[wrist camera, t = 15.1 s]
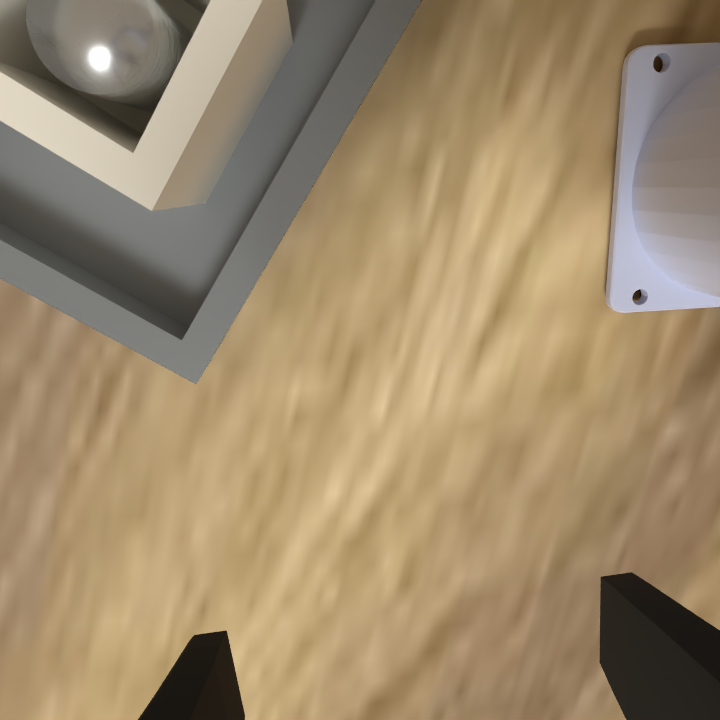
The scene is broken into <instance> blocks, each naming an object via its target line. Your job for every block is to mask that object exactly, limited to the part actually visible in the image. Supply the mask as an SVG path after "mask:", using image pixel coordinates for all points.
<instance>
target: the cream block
mask: <svg viewBox="0 0 720 720" xmlns="http://www.w3.org/2000/svg"><path fill="white" fill-rule="evenodd" d="M157 1H158V2H159V3H160V4H161V5H163V6H164V7H165V8H166V9H167V10H168V11H169V12H170V13H171V14H172V15H173V16H175V17H176V18H177V19H178V20H179V21H180V22H181V23H182V24H183V25H184V26H185V27H187V28H188V29H189V30H190V31H191V32H192V33H193V36H192V38H191V40H190V42H189V44H188V46H187V48H186V50H185V52H184V54H183V56H182V58H181V60H180V62H179V64H178V66H177V68H176V70H175V72H174V74H173V76H172V78H171V80H170V82H169V84H168V86H167V88H166V90H165V91H164V93H163V95H162V97H161V99H160V101H159V103H158V105H157V107H156V109H155V111H154V113H153V114H152V113H149V112H146V111H142V110H139V109H136V108H133V107H130V106H127V105H123V104H120V103H117V102H114V101H111V100H108V99H104V98H101V97H98V96H95V95H92V94H89V93H85V92H82V91H79V90H77V89H74V88H72V87H70V86H68V85H66V84H65V83H63V82H62V81H60V80H59V79H58V78H56V77H55V76H54V75H53V74H52V73H51V72H50V71H49V70H48V69H47V68H46V67H45V65H44V64H43V63H42V61H41V60H40V58H39V57H38V55H37V53H36V51H35V50H34V47H33V45H32V42H31V40H30V36H29V33H28V28H27V22H26V5H27V0H0V121H2V122H3V123H5V124H7V125H8V126H10V127H12V128H13V129H15V130H17V131H18V132H20V133H22V134H23V135H25V136H27V137H28V138H30V139H32V140H33V141H35V142H37V143H39V144H40V145H42V146H44V147H45V148H47V149H49V150H50V151H52V152H54V153H55V154H57V155H59V156H60V157H62V158H64V159H65V160H67V161H69V162H70V163H72V164H74V165H75V166H77V167H79V168H80V169H82V170H84V171H85V172H87V173H89V174H91V175H92V176H94V177H96V178H97V179H99V180H101V181H102V182H104V183H106V184H107V185H109V186H111V187H112V188H114V189H116V190H117V191H119V192H121V193H122V194H124V195H126V196H127V197H129V198H131V199H132V200H134V201H136V202H138V203H139V204H141V205H143V206H144V207H146V208H148V209H149V210H151V211H155V210H163V209H170V208H177V207H184V206H191V205H198V204H205V203H206V202H207V200H208V198H209V196H210V194H211V192H212V191H213V189H214V187H215V185H216V183H217V181H218V180H219V178H220V176H221V174H222V172H223V170H224V169H225V167H226V165H227V163H228V161H229V159H230V158H231V156H232V154H233V152H234V150H235V148H236V147H237V145H238V143H239V141H240V139H241V137H242V135H243V134H244V132H245V130H246V128H247V126H248V124H249V123H250V121H251V119H252V117H253V115H254V113H255V112H256V110H257V108H258V106H259V104H260V102H261V101H262V99H263V97H264V95H265V93H266V91H267V90H268V88H269V86H270V84H271V82H272V80H273V79H274V77H275V75H276V73H277V71H278V69H279V68H280V66H281V64H282V62H283V60H284V58H285V57H286V55H287V53H288V51H289V49H290V47H291V46H292V44H293V39H292V32H291V26H290V20H289V13H288V7H287V0H157Z"/></svg>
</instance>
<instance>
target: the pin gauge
mask: <svg viewBox="0 0 720 720" xmlns="http://www.w3.org/2000/svg"><path fill="white" fill-rule="evenodd" d="M26 22H27V28H28V33H29V36H30V40H31V42H32V45H33V47H34V50H35V51H36V53H37V55H38V57H39V58H40V60H41V61H42V63H43V64H44V65H45V67H46V68H47V69H48V70H49V71H50V72H51V73H52V74H53V75H54V76H55V77H56V78H58V79H59V80H60V81H62V82H63V83H65V84H66V85H68V86H70V87H72V88H74V89H77V90H79V91H82V92H85V93H89V94H92V95H95V96H98V97H101V98H104V99H108V100H111V101H114V102H117V103H120V104H123V105H127V106H130V107H133V108H136V109H139V110H142V111H146V112H149V113H152V114H153V113H154V111H155V109H156V107H157V105H158V103H159V101H160V99H161V97H162V95H163V93H164V91H165V90H166V88H167V86H168V84H169V82H170V80H171V78H172V76H173V74H174V72H175V70H176V68H177V66H178V64H179V62H180V60H181V58H182V56H183V54H184V52H185V50H186V48H187V46H188V44H189V42H190V40H191V38H192V36H193V33H192V32H191V31H190V30H189V29H188V28H187V27H185V26H184V25H183V24H182V23H181V22H180V21H179V20H178V19H177V18H176V17H175V16H173V15H172V14H171V13H170V12H169V11H168V10H167V9H166V8H165V7H164V6H163V5H161V4H160V3H159V2H158V1H157V0H27V5H26Z"/></svg>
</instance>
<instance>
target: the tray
mask: <svg viewBox="0 0 720 720" xmlns="http://www.w3.org/2000/svg"><path fill="white" fill-rule="evenodd" d="M421 1H422V0H287V7H288V13H289V20H290V26H291V32H292V39H293V44H292V46H291V47H290V49H289V51H288V53H287V55H286V57H285V58H284V60H283V62H282V64H281V66H280V68H279V69H278V71H277V73H276V75H275V77H274V79H273V80H272V82H271V84H270V86H269V88H268V90H267V91H266V93H265V95H264V97H263V99H262V101H261V102H260V104H259V106H258V108H257V110H256V112H255V113H254V115H253V117H252V119H251V121H250V123H249V124H248V126H247V128H246V130H245V132H244V134H243V135H242V137H241V139H240V141H239V143H238V145H237V147H236V148H235V150H234V152H233V154H232V156H231V158H230V159H229V161H228V163H227V165H226V167H225V169H224V170H223V172H222V174H221V176H220V178H219V180H218V181H217V183H216V185H215V187H214V189H213V191H212V192H211V194H210V196H209V198H208V200H207V202H206V203H205V204H198V205H191V206H184V207H177V208H170V209H163V210H155V211H151V210H149V209H148V208H146V207H144V206H143V205H141V204H139V203H138V202H136V201H134V200H132V199H131V198H129V197H127V196H126V195H124V194H122V193H121V192H119V191H117V190H116V189H114V188H112V187H111V186H109V185H107V184H106V183H104V182H102V181H101V180H99V179H97V178H96V177H94V176H92V175H91V174H89V173H87V172H85V171H84V170H82V169H80V168H79V167H77V166H75V165H74V164H72V163H70V162H69V161H67V160H65V159H64V158H62V157H60V156H59V155H57V154H55V153H54V152H52V151H50V150H49V149H47V148H45V147H44V146H42V145H40V144H39V143H37V142H35V141H33V140H32V139H30V138H28V137H27V136H25V135H23V134H22V133H20V132H18V131H17V130H15V129H13V128H12V127H10V126H8V125H7V124H5V123H3V122H2V121H0V279H2V280H4V281H6V282H8V283H10V284H11V285H13V286H15V287H17V288H19V289H21V290H22V291H24V292H26V293H28V294H30V295H32V296H34V297H35V298H37V299H39V300H41V301H43V302H45V303H47V304H48V305H50V306H52V307H54V308H56V309H58V310H60V311H61V312H63V313H65V314H67V315H69V316H71V317H73V318H74V319H76V320H78V321H80V322H82V323H84V324H85V325H87V326H89V327H91V328H93V329H95V330H97V331H98V332H100V333H102V334H104V335H106V336H108V337H110V338H111V339H113V340H115V341H117V342H119V343H121V344H123V345H124V346H126V347H128V348H130V349H132V350H134V351H135V352H137V353H139V354H141V355H143V356H145V357H147V358H148V359H150V360H152V361H154V362H156V363H158V364H160V365H161V366H163V367H165V368H167V369H169V370H171V371H173V372H174V373H176V374H178V375H180V376H182V377H184V378H185V379H187V380H189V381H191V382H193V383H195V384H197V382H198V381H199V379H200V377H201V376H202V374H203V372H204V371H205V369H206V367H207V366H208V364H209V362H210V361H211V359H212V357H213V355H214V354H215V352H216V350H217V349H218V347H219V345H220V344H221V342H222V340H223V338H224V337H225V335H226V333H227V332H228V330H229V328H230V327H231V325H232V323H233V321H234V320H235V318H236V316H237V315H238V313H239V311H240V309H241V308H242V306H243V304H244V303H245V301H246V299H247V298H248V296H249V294H250V292H251V291H252V289H253V287H254V286H255V284H256V282H257V281H258V279H259V277H260V275H261V274H262V272H263V270H264V269H265V267H266V265H267V263H268V262H269V260H270V258H271V257H272V255H273V253H274V252H275V250H276V248H277V246H278V245H279V243H280V241H281V240H282V238H283V236H284V234H285V233H286V231H287V229H288V228H289V226H290V224H291V223H292V221H293V219H294V217H295V216H296V214H297V212H298V211H299V209H300V207H301V206H302V204H303V202H304V200H305V199H306V197H307V195H308V194H309V192H310V190H311V188H312V187H313V185H314V183H315V182H316V180H317V178H318V177H319V175H320V173H321V171H322V170H323V168H324V166H325V165H326V163H327V161H328V159H329V158H330V156H331V154H332V153H333V151H334V149H335V148H336V146H337V144H338V142H339V141H340V139H341V137H342V136H343V134H344V132H345V131H346V129H347V127H348V125H349V124H350V122H351V120H352V119H353V117H354V115H355V113H356V112H357V110H358V108H359V107H360V105H361V103H362V102H363V100H364V98H365V96H366V95H367V93H368V91H369V90H370V88H371V86H372V85H373V83H374V81H375V79H376V78H377V76H378V74H379V73H380V71H381V69H382V67H383V66H384V64H385V62H386V61H387V59H388V57H389V56H390V54H391V52H392V50H393V49H394V47H395V45H396V44H397V42H398V40H399V38H400V37H401V35H402V33H403V32H404V30H405V28H406V27H407V25H408V23H409V21H410V20H411V18H412V16H413V15H414V13H415V11H416V10H417V8H418V6H419V4H420V3H421Z"/></svg>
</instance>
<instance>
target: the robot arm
mask: <svg viewBox="0 0 720 720" xmlns="http://www.w3.org/2000/svg"><path fill="white" fill-rule="evenodd" d="M656 56H658V57H660V58H661V59H662V62H663V66H662V70H661V71H660V72H656V70H655V69H654V67H653V61H654V58H655V57H656ZM639 289H640V290H641V294H642V295H641V297H640V299H639V300H638V301H637V302H633V300H632V297H633V294H634V293H635V292H636V291H637V290H639ZM606 303H607V305H608V306H609V308H611V309H613V310H615V311H617V312H622V313H625V312H642V311H658V310H674V309H690V308H706V307H720V42H716V43H687V44H659V45H644V46H640V47H638V48H635V49H634V50H632V51H631V52H630V53H628V55H627V57H626V58H625V60H624V64H623V72H622V85H621V98H620V112H619V125H618V138H617V151H616V165H615V178H614V191H613V204H612V218H611V231H610V244H609V257H608V271H607V284H606ZM600 664H601V666H602V669H603V671H604V673H605V675H606V677H607V680H608V682H609V684H610V686H611V688H612V691H613V693H614V695H615V697H616V699H617V701H618V703H619V705H620V707H621V709H622V711H623V714H624V716H625V718H626V719H627V720H720V630H718V629H717V628H715V627H714V626H712V625H710V624H709V623H707V622H706V621H704V620H703V619H701V618H700V617H698V616H697V615H695V614H694V613H692V612H691V611H689V610H688V609H686V608H685V607H683V606H682V605H680V604H679V603H677V602H676V601H674V600H673V599H671V598H670V597H668V596H667V595H666V594H664V593H663V592H661V591H660V590H658V589H657V588H655V587H654V586H652V585H651V584H649V583H648V582H646V581H644V580H643V579H641V578H640V577H638V576H637V575H635V574H633V573H632V572H631V573H624V574H617V575H610V576H603V577H601V601H600ZM138 720H245V714H244V709H243V705H242V700H241V695H240V691H239V686H238V681H237V677H236V672H235V667H234V663H233V658H232V653H231V649H230V644H229V640H228V635H227V631H220V632H213V633H206V634H199V635H194V636H193V637H192V638H191V640H190V641H189V642H188V644H187V646H186V647H185V649H184V650H183V652H182V653H181V655H180V657H179V658H178V660H177V661H176V663H175V664H174V666H173V668H172V669H171V671H170V672H169V674H168V675H167V677H166V679H165V680H164V682H163V683H162V685H161V686H160V688H159V689H158V691H157V692H156V694H155V695H154V697H153V698H152V700H151V701H150V703H149V704H148V706H147V707H146V709H145V710H144V712H143V713H142V714H141V716H140V717H139V719H138Z"/></svg>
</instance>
